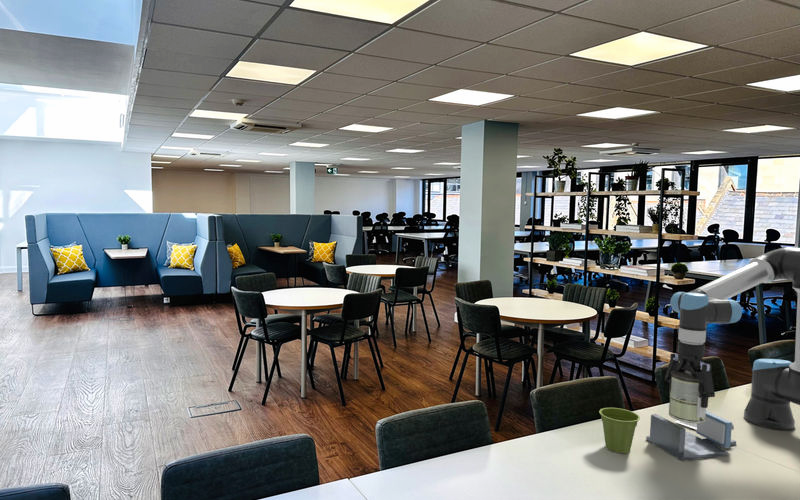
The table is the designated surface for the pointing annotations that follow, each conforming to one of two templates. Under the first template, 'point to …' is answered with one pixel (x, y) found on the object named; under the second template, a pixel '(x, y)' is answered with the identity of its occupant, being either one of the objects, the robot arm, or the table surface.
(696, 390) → the coffee can
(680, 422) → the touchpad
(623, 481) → the table surface
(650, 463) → the table surface
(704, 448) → the vise base
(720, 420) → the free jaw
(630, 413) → the plant pot
